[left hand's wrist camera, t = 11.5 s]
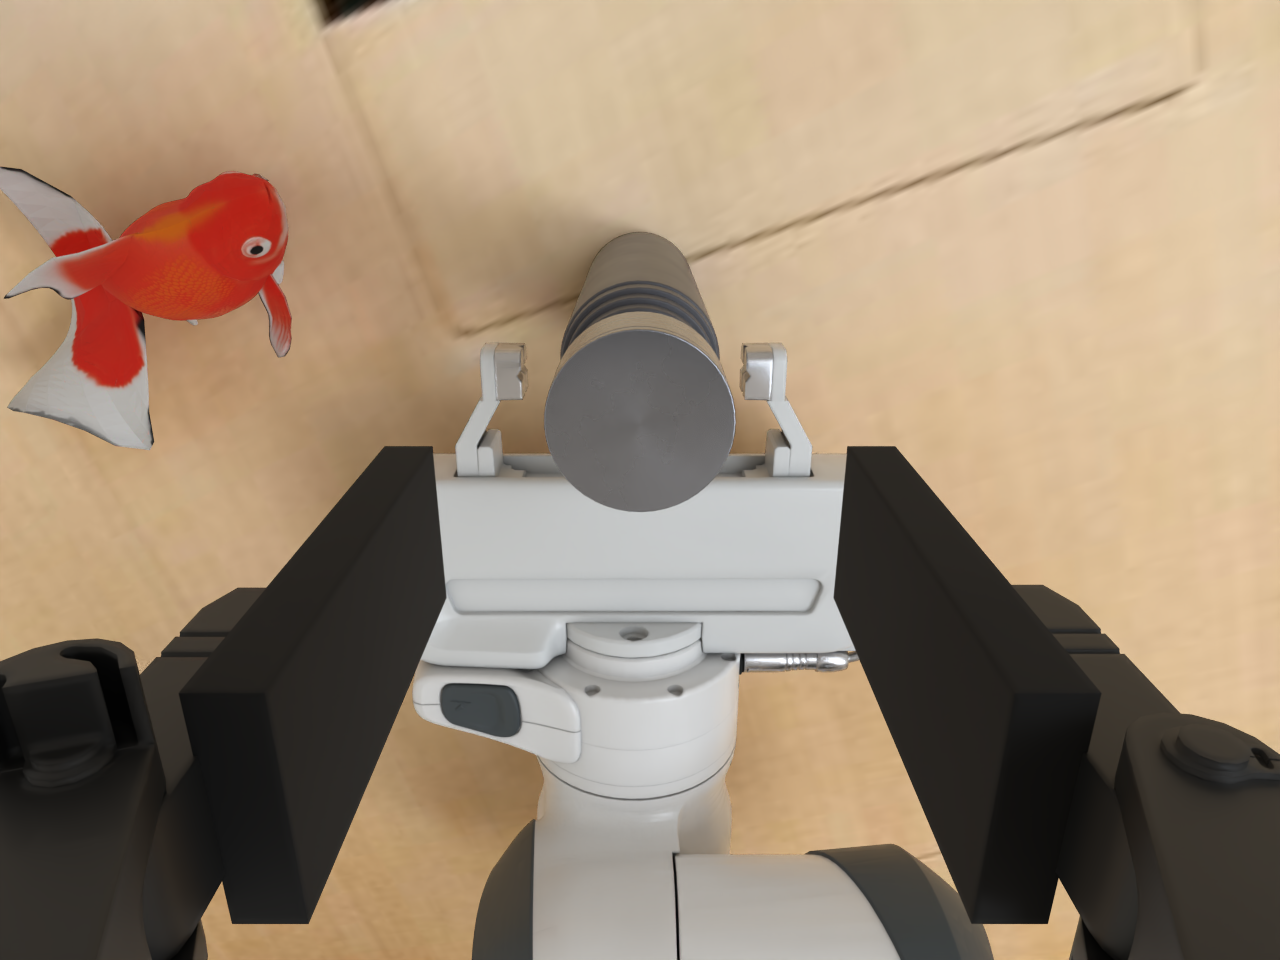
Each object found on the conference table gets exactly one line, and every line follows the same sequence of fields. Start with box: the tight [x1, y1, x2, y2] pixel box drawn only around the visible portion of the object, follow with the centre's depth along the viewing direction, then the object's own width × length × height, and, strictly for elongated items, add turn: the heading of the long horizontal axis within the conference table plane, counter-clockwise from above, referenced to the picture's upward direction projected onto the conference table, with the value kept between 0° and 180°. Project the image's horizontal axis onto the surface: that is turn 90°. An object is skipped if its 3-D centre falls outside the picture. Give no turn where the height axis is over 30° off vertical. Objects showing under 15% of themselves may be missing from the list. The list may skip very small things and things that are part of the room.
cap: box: [544, 311, 736, 512], centre depth 20 cm, size 4×4×2 cm
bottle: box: [561, 232, 720, 361], centre depth 28 cm, size 4×4×19 cm
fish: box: [0, 167, 292, 450], centre depth 33 cm, size 11×16×10 cm
